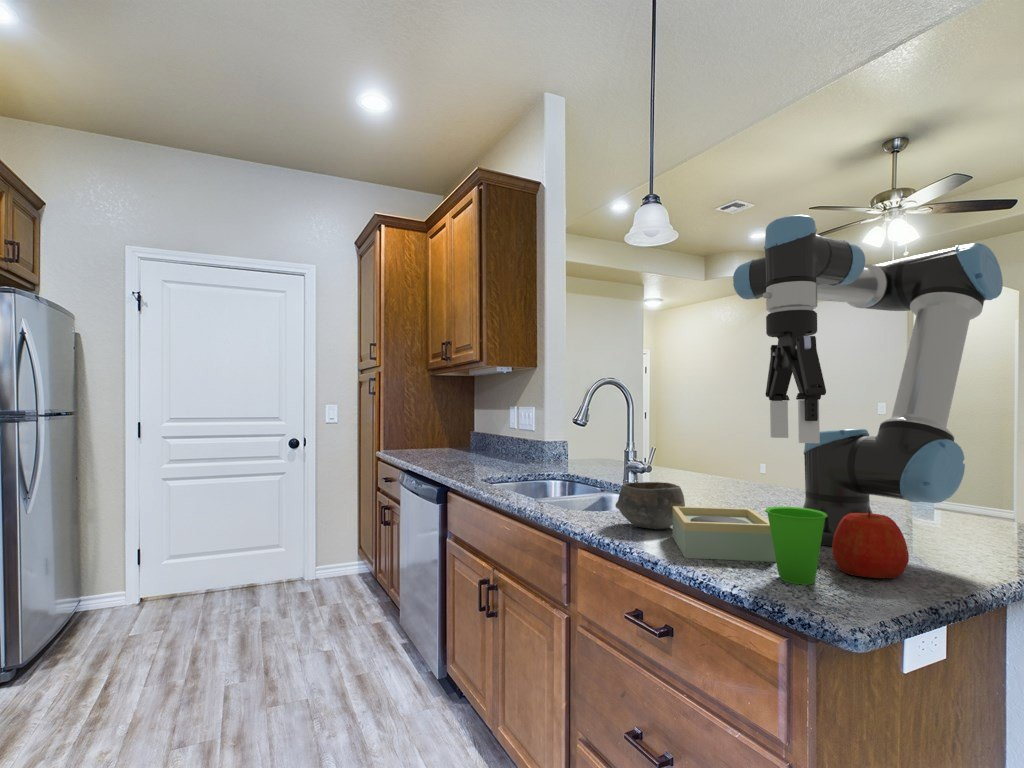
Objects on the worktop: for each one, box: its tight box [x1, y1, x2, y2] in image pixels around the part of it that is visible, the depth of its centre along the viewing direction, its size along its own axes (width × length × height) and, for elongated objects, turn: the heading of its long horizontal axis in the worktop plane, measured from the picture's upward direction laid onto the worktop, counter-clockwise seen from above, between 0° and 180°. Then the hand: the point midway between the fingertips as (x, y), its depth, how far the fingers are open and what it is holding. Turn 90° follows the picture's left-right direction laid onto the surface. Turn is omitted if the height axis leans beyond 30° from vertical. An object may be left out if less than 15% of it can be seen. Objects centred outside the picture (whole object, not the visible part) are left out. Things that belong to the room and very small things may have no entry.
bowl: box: [614, 481, 686, 530], centre depth 124 cm, size 14×15×10 cm
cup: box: [764, 506, 828, 586], centre depth 87 cm, size 9×9×11 cm
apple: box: [831, 511, 910, 579], centre depth 90 cm, size 11×11×11 cm
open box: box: [672, 506, 777, 563], centre depth 106 cm, size 16×16×6 cm
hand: (793, 440), depth 88 cm, fingers open, 13 cm apart
